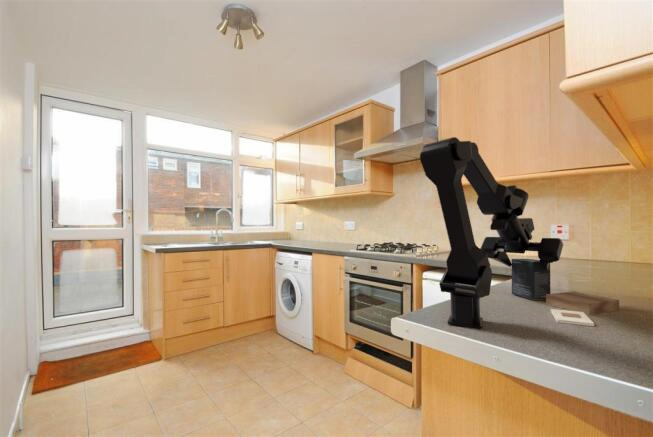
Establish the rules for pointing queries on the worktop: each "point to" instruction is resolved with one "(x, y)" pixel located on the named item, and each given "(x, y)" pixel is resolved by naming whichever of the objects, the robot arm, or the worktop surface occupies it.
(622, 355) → the worktop surface
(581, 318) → the card
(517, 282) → the box
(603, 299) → the walnut slab
